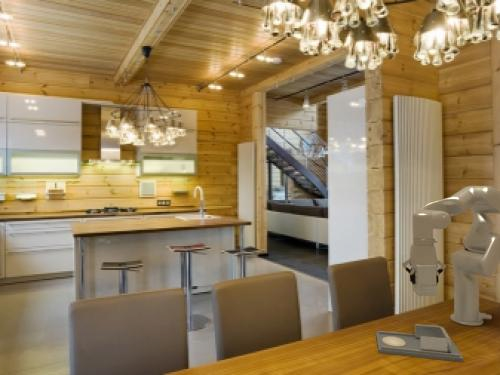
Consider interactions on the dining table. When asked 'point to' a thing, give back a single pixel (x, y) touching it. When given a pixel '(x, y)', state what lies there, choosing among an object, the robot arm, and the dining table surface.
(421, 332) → the collar
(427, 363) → the dining table surface
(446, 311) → the dining table surface
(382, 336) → the base plate
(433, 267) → the supplement box
